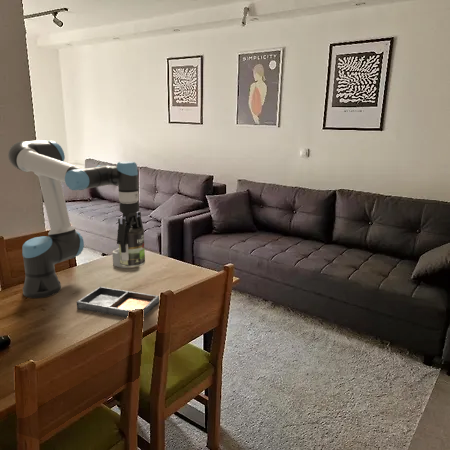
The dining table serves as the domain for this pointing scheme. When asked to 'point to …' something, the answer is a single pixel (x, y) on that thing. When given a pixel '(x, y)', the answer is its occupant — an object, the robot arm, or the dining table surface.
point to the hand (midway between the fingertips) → (132, 255)
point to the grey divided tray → (117, 301)
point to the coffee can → (134, 248)
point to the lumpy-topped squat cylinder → (117, 259)
